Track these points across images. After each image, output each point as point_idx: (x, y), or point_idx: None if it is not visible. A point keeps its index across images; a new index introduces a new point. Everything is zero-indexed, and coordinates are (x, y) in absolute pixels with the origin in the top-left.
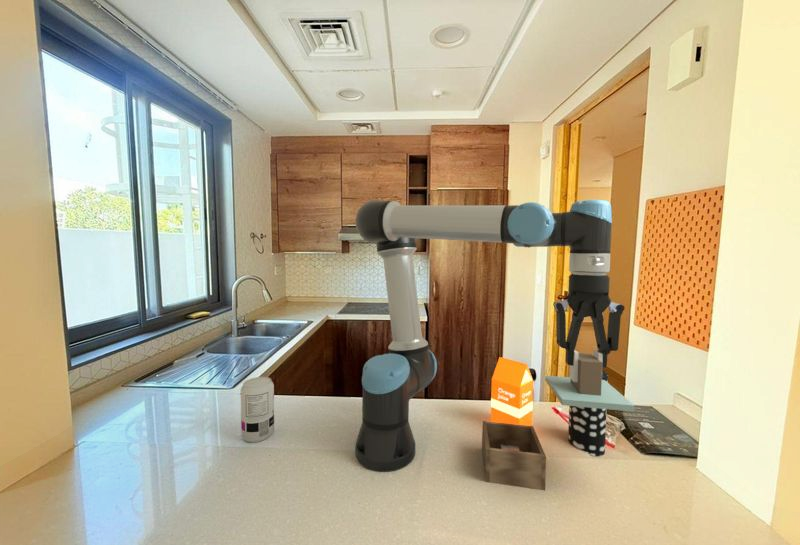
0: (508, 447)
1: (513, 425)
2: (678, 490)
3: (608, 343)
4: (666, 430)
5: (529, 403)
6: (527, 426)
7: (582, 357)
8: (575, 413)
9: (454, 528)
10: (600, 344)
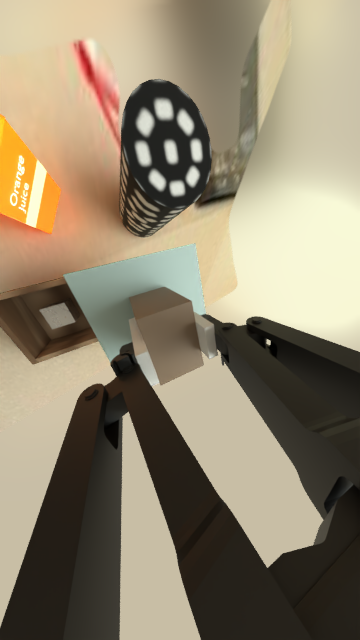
0: (52, 311)
1: (40, 288)
2: (205, 264)
3: (256, 334)
4: (240, 119)
5: (35, 178)
6: (63, 281)
7: (166, 352)
8: (131, 217)
9: (51, 393)
10: (230, 367)
